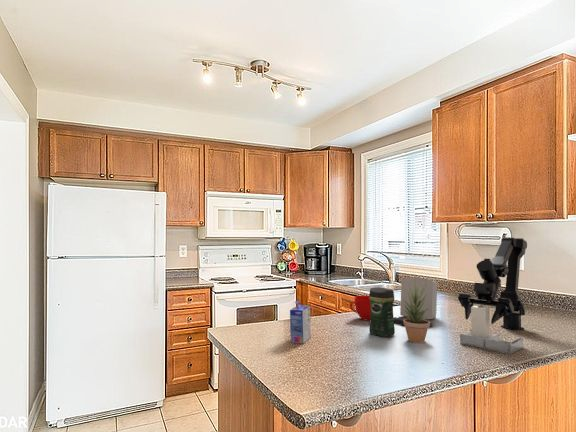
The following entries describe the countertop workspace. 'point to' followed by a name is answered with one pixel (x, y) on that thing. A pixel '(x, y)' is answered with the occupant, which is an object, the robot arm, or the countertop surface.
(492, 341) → the rack
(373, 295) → the coffee jar
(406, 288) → the electrical switch box
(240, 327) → the countertop surface
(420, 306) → the potted plant
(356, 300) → the ceramic cup
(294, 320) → the ink cartridge box
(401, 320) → the disk drive
